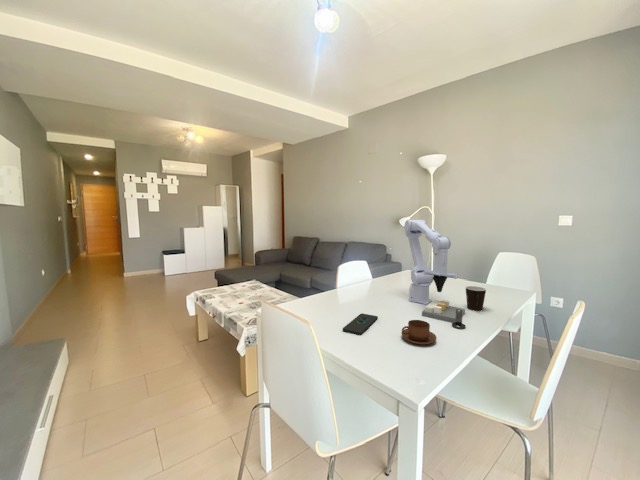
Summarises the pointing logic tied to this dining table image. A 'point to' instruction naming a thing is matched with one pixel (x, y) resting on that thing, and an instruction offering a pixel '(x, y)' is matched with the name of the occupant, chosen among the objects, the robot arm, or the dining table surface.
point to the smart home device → (360, 324)
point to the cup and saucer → (418, 332)
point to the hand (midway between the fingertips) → (439, 291)
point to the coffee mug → (475, 297)
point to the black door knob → (458, 320)
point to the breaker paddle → (442, 306)
